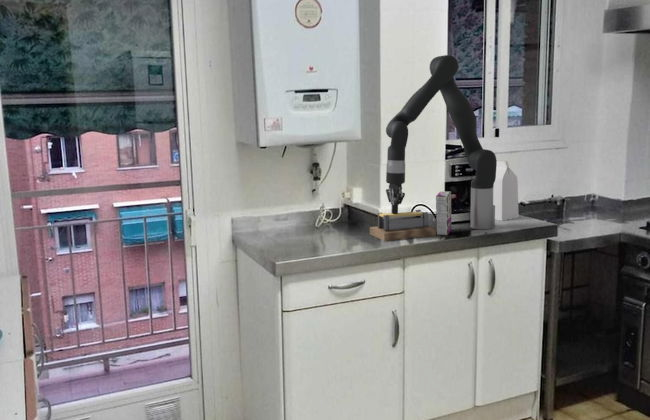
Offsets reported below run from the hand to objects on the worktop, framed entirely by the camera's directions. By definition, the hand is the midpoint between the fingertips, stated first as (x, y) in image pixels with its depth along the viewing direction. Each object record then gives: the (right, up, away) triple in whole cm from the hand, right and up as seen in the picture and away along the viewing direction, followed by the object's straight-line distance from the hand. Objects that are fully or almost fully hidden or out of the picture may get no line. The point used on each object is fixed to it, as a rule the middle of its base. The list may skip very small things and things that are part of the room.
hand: (394, 213), depth 246 cm
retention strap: (+3, -1, +1) cm, 4 cm away
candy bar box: (+21, -8, +5) cm, 23 cm away
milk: (+52, -2, +32) cm, 61 cm away
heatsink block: (+4, -6, +2) cm, 7 cm away
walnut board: (+4, -9, +3) cm, 10 cm away
